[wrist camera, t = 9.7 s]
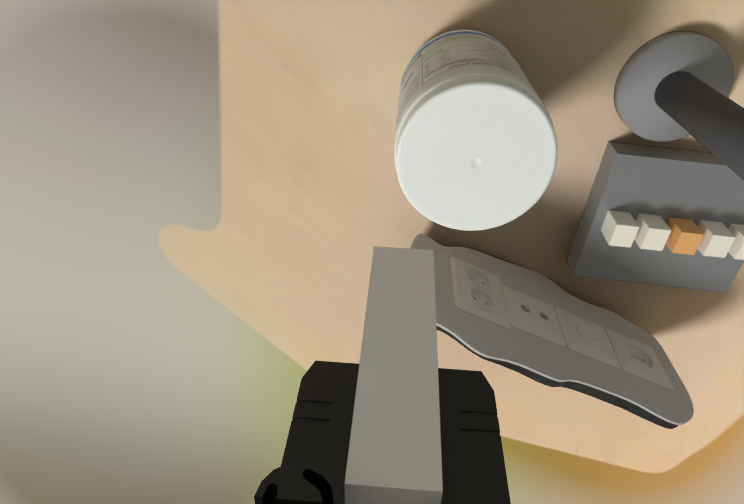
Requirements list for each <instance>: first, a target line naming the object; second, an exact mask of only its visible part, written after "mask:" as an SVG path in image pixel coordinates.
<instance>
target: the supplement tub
mask: <svg viewBox="0 0 744 504" xmlns="http://www.w3.org/2000/svg"><path fill="white" fill-rule="evenodd" d="M394 155H395V164H396V169H397V175H398V179H399V183H400V186H401V188H402V190H403V192H404V194H405V196H406V197H407V199H408V200H409V202H410V203H411V204H412V205H413V206H414V207H415V208H416V209H417V210H418V211H419V212H420V213H421V214H422V215H424V216H425V217H426V218H428V219H430V220H432V221H433V222H435V223H437V224H440V225H442V226H445V227H448V228H452V229H458V230H467V231H476V230H485V229H490V228H494V227H498V226H501V225H503V224H506V223H508V222H510V221H512V220H514V219H516V218H517V217H519V216H521V215H522V214H524V213H525V212H526V211H528V210H529V209H530V208H531V207H532V206H533V205H534V204H535V203H536V202H537V201H538V200H539V199H540V197H541V196H542V195H543V193H544V192H545V190H546V189H547V187H548V185H549V183H550V181H551V179H552V177H553V174H554V171H555V167H556V162H557V140H556V135H555V131H554V128H553V124H552V121H551V118H550V115H549V113H548V111H547V109H546V107H545V106H544V104H543V102H542V101H541V99H540V98H539V96H538V94H537V93H536V91H535V90H534V88H533V87H532V85H531V84H530V82H529V81H528V79H527V77H526V76H525V74H524V73H523V71H522V70H521V68H520V66H519V65H518V63H517V62H516V60H515V59H514V57H513V56H512V54H511V53H510V51H509V50H508V49H507V48H506V47H505V46H504V45H503V44H502V43H501V42H500V41H498V40H497V39H495V38H494V37H492V36H490V35H488V34H486V33H483V32H479V31H475V30H454V31H449V32H446V33H443V34H440V35H438V36H436V37H434V38H433V39H431V40H429V41H428V42H427V43H425V44H424V45H423V46H422V47H420V48H419V49H418V50H417V52H416V53H415V54H414V55H413V57H412V58H411V60H410V61H409V63H408V64H407V67H406V69H405V71H404V74H403V77H402V81H401V86H400V94H399V103H398V113H397V123H396V135H395V148H394Z"/></svg>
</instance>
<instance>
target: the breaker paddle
mask: <svg viewBox="0 0 744 504" xmlns="http://www.w3.org/2000/svg"><path fill="white" fill-rule="evenodd" d="M667 225H668V227H669V228H670V229H671V230H672V231H671V233H670V235H669V237H668V239H667V241H666V245H667V246H668V248H669V249H670V251H671V252H672V253H678V254H688V255H694V254H695V252H696V250H697V248H698V246H699V244H700V242H701V240H702V238H703V236H704V234H703V233H702V231H701V230H700V229H699V228H698V227H697V226H696V224H695V223H694V222H693V221H692V220H690V219H681V218H671V217H670V219H669V221H668V223H667Z"/></svg>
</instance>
